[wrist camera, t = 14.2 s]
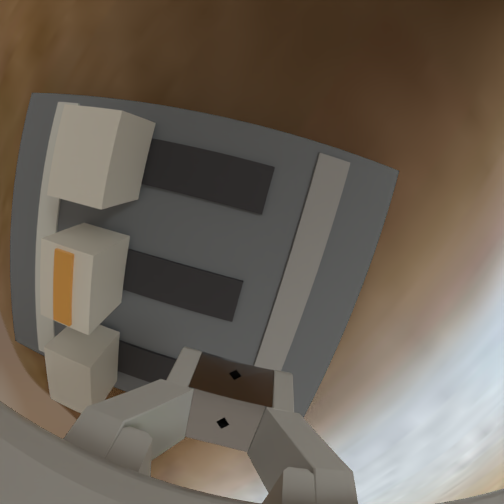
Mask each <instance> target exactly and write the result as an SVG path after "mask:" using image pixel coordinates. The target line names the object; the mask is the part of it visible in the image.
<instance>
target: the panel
mask: <svg viewBox="0 0 504 504" xmlns="http://www.w3.org/2000/svg"><path fill="white" fill-rule="evenodd" d="M65 104H68V105H79V106H89V107H98V108H106V109H114V110H122V111H125V112H128V113H130V114H133V115H136V116H139V117H141V118H144V119H147V120H149V121H152V122H155V123H156V125H155V128H154V132H153V136H152V140H151V144H150V148H149V152H148V156H147V161H146V165H145V169H144V174H143V178H142V183H141V188H140V193H139V198H138V200H134V201H130V202H127V203H123V204H119V205H116V206H112V207H109V208H105V209H102V210H101V209H97V208H93V207H90V206H86V205H82V204H78V203H75V202H71V201H67V200H63V199H60V198H56V197H52V196H48V195H47V191H48V184H49V177H50V171H51V165H52V159H53V153H54V148H55V143H56V138H57V134H58V129H59V125H60V121H61V116H62V112H63V109H64V105H65ZM398 174H399V171H398V170H396V169H393V168H391V167H388V166H385V165H383V164H380V163H377V162H375V161H372V160H369V159H367V158H364V157H361V156H358V155H355V154H353V153H350V152H347V151H344V150H341V149H338V148H335V147H332V146H329V145H326V144H322V143H319V142H316V141H313V140H309V139H306V138H303V137H299V136H296V135H293V134H289V133H286V132H282V131H278V130H275V129H271V128H267V127H263V126H259V125H255V124H251V123H247V122H243V121H239V120H235V119H230V118H226V117H221V116H217V115H212V114H207V113H202V112H197V111H192V110H187V109H181V108H176V107H170V106H164V105H158V104H151V103H145V102H137V101H130V100H122V99H114V98H104V97H94V96H83V95H69V94H52V93H32V95H31V99H30V103H29V107H28V111H27V115H26V119H25V124H24V129H23V133H22V139H21V144H20V149H19V155H18V162H17V168H16V176H15V184H14V193H13V203H12V216H11V236H10V280H11V300H12V313H13V324H14V333H15V341H17V342H19V343H20V344H22V345H24V346H26V347H28V348H30V349H32V350H33V351H35V352H37V353H39V354H41V355H43V356H45V353H44V346H45V345H47V344H48V343H49V342H50V341H51V340H52V339H53V338H54V337H55V336H57V335H58V334H59V333H60V332H61V331H62V330H63V329H64V328H66V327H67V326H65V325H63V324H61V323H58V322H56V321H54V320H52V319H50V318H47V317H45V316H43V315H41V310H40V258H41V238H43V237H46V236H49V235H51V234H54V233H57V232H59V231H62V230H65V229H68V228H70V227H73V226H76V225H79V224H82V223H87V224H90V225H94V226H97V227H101V228H104V229H108V230H111V231H115V232H118V233H121V234H125V235H128V236H130V240H129V246H128V253H127V260H126V267H125V275H124V283H123V291H122V300H121V303H120V304H119V305H118V306H117V307H116V308H115V309H114V310H113V311H112V312H111V313H110V314H109V315H108V316H107V317H106V318H105V319H104V320H103V321H102V322H101V323H100V324H99V325H102V326H105V327H107V328H110V329H113V330H116V331H118V332H120V337H119V352H118V371H117V382H116V383H115V385H114V386H113V387H115V388H118V389H121V390H123V391H126V392H128V391H131V390H134V389H136V388H139V387H141V386H144V385H147V384H149V383H152V382H154V381H157V380H159V379H163V380H167V378H168V376H169V374H170V372H171V370H172V368H173V366H174V364H175V362H176V360H177V358H178V356H179V354H180V352H181V350H182V348H184V347H185V346H186V347H189V348H192V349H196V350H199V351H202V352H206V353H209V354H213V355H216V356H219V357H223V358H226V359H230V360H234V361H237V362H239V363H244V364H248V365H252V366H257V367H261V368H266V369H270V370H278V371H283V372H289V373H291V374H292V375H293V394H294V412H295V413H300V415H301V416H302V417H304V415H305V413H306V411H307V409H308V408H309V406H310V404H311V402H312V400H313V398H314V396H315V394H316V392H317V389H318V387H319V385H320V383H321V381H322V379H323V377H324V375H325V373H326V371H327V368H328V366H329V364H330V362H331V360H332V358H333V355H334V353H335V351H336V349H337V346H338V344H339V342H340V339H341V337H342V335H343V332H344V330H345V328H346V325H347V323H348V320H349V318H350V316H351V313H352V311H353V308H354V306H355V303H356V301H357V298H358V296H359V293H360V290H361V288H362V285H363V282H364V280H365V277H366V274H367V272H368V269H369V266H370V263H371V260H372V258H373V255H374V252H375V249H376V246H377V243H378V240H379V237H380V234H381V231H382V228H383V225H384V222H385V218H386V215H387V212H388V209H389V205H390V202H391V199H392V195H393V192H394V188H395V185H396V181H397V177H398Z"/></svg>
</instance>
